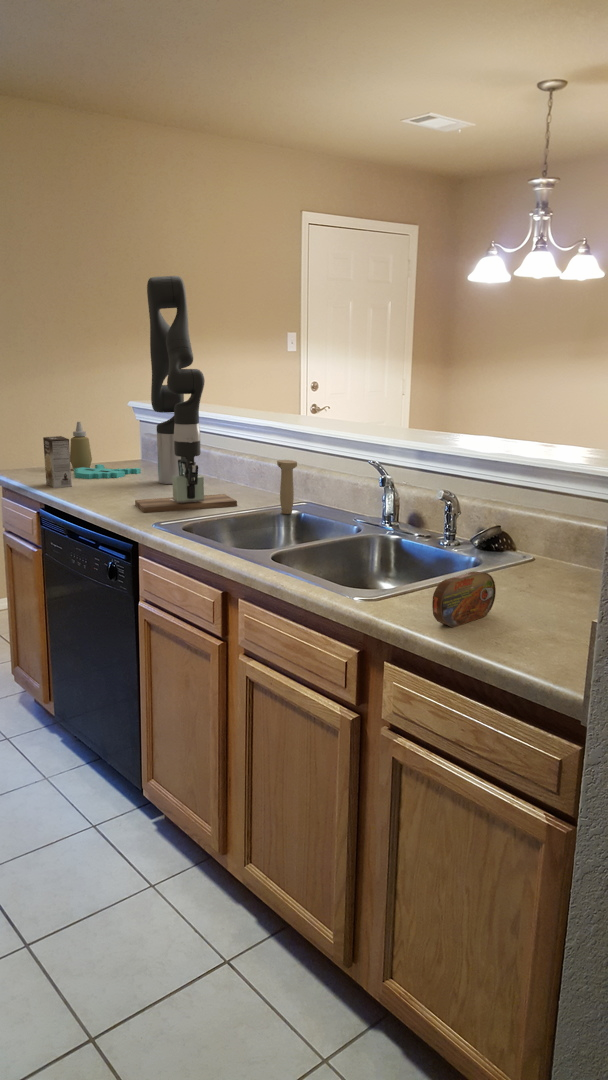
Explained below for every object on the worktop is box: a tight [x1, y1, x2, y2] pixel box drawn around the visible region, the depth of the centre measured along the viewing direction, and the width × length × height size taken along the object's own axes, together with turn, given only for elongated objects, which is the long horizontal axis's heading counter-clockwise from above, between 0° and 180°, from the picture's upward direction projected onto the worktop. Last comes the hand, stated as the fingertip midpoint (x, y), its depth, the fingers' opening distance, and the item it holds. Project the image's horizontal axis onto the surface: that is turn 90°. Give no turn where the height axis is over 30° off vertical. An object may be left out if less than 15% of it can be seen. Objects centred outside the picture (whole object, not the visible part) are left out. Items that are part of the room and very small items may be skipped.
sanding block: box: [172, 474, 205, 503], centre depth 237 cm, size 5×8×7 cm, turn 113°
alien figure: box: [73, 463, 142, 480], centre depth 294 cm, size 20×2×20 cm
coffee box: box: [42, 435, 72, 489], centre depth 270 cm, size 9×6×16 cm
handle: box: [276, 459, 298, 515], centre depth 229 cm, size 5×6×15 cm
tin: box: [431, 571, 497, 628], centre depth 143 cm, size 15×3×8 cm, turn 130°
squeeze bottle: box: [69, 421, 93, 470], centre depth 302 cm, size 8×8×18 cm
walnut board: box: [134, 493, 238, 513], centre depth 240 cm, size 12×28×2 cm, turn 113°
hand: (188, 496), depth 237 cm, fingers closed on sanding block, 5 cm apart
